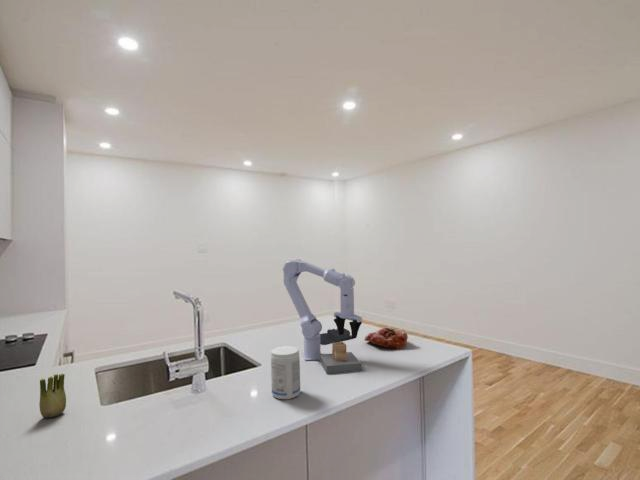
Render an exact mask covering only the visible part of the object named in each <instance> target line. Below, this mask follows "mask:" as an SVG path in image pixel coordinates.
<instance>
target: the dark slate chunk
mask: <svg viewBox="0 0 640 480" xmlns="http://www.w3.org/2000/svg"><path fill="white" fill-rule="evenodd" d="M350 340H353V339H352V335H351V330H348V329H347V328H345V327H344V334H343V335H339V332H338V328H337V327H336V329H335V328H331V329H329V328H328V329H327V331H326V332H324V333H320V345H324V346H327V345H331V344H332V343H336V342H345V341H350Z"/></svg>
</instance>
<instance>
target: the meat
mask: <svg viewBox="0 0 640 480" xmlns="http://www.w3.org/2000/svg"><path fill="white" fill-rule="evenodd" d="M364 337H365V338H364V341H366V342H370V343H371V344H372V345H378V346H381V347H383V348H387V349H390V350H397V351H398V350H404V348H405V346H406V345H407V341H408V338H409V337H408V333H407V332H402V331H400V330H395V328H394V327H391V326H389V327H388V326H387V327H383V328H381V329H378V330H376V331H374V332H368V333H367V334H366V335H365V336H364Z"/></svg>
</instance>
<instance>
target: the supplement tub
mask: <svg viewBox="0 0 640 480" xmlns="http://www.w3.org/2000/svg"><path fill="white" fill-rule="evenodd" d="M270 352H271V353H270V371H271V372H270V376H271V377H270V378H271V379H270V380H271V381H270V382H271V394H272V396H273V397H274V398H276V399H279V400H290V399H293V398H296V397H297V396H299V395H300V393H301V365H300V349H299V347H297V346H292V345H282V346H278V347H274V348H273V349H271V351H270Z"/></svg>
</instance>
